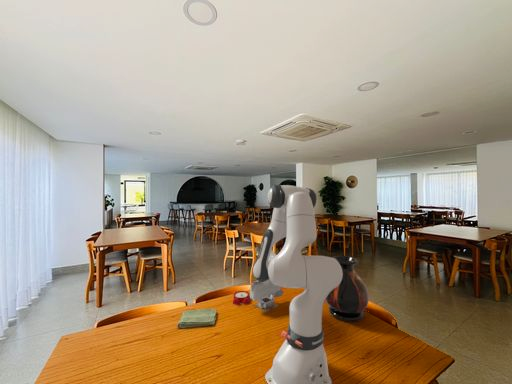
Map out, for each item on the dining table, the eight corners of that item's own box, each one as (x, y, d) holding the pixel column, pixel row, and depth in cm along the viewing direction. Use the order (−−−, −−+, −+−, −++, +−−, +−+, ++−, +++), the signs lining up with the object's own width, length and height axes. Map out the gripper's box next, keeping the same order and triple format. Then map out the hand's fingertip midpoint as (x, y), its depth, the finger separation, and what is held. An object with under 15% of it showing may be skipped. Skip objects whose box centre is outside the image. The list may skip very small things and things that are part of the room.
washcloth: (215, 327, 100) (215, 320, 100) (176, 330, 98) (176, 323, 98) (216, 312, 113) (216, 306, 113) (182, 315, 111) (182, 308, 111)
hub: (271, 302, 122) (271, 295, 122) (254, 293, 134) (254, 287, 134) (288, 294, 132) (288, 288, 132) (271, 287, 143) (271, 281, 144)
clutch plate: (265, 309, 112) (265, 303, 112) (256, 304, 118) (256, 298, 118) (274, 305, 116) (274, 300, 116) (264, 300, 122) (264, 295, 122)
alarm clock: (250, 289, 131) (250, 294, 117) (250, 301, 130) (251, 307, 115) (233, 290, 131) (231, 295, 116) (233, 301, 129) (231, 308, 115)
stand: (265, 314, 109) (265, 310, 109) (253, 307, 117) (253, 303, 117) (279, 308, 116) (278, 303, 116) (266, 301, 123) (266, 297, 123)
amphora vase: (323, 301, 122) (322, 252, 123) (365, 306, 116) (363, 255, 117) (323, 322, 102) (322, 263, 103) (373, 330, 95) (371, 267, 96)
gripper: (254, 284, 108) (255, 312, 107) (282, 274, 121) (282, 299, 120) (247, 281, 113) (247, 307, 112) (274, 272, 126) (274, 295, 125)
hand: (266, 303), depth 116 cm, fingers open, 6 cm apart
